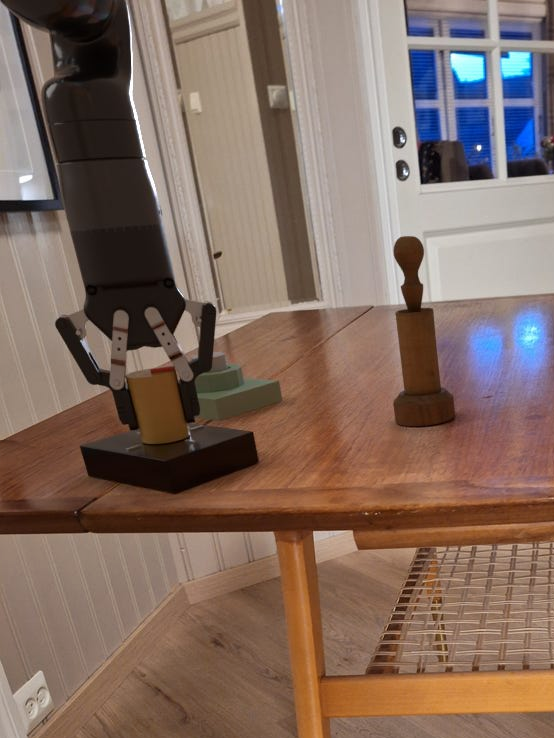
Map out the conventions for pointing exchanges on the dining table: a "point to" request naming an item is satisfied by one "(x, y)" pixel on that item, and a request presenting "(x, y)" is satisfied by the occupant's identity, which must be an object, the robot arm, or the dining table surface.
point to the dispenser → (233, 393)
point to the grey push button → (216, 362)
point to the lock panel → (170, 458)
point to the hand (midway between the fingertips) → (163, 423)
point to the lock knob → (158, 405)
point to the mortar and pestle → (418, 348)
